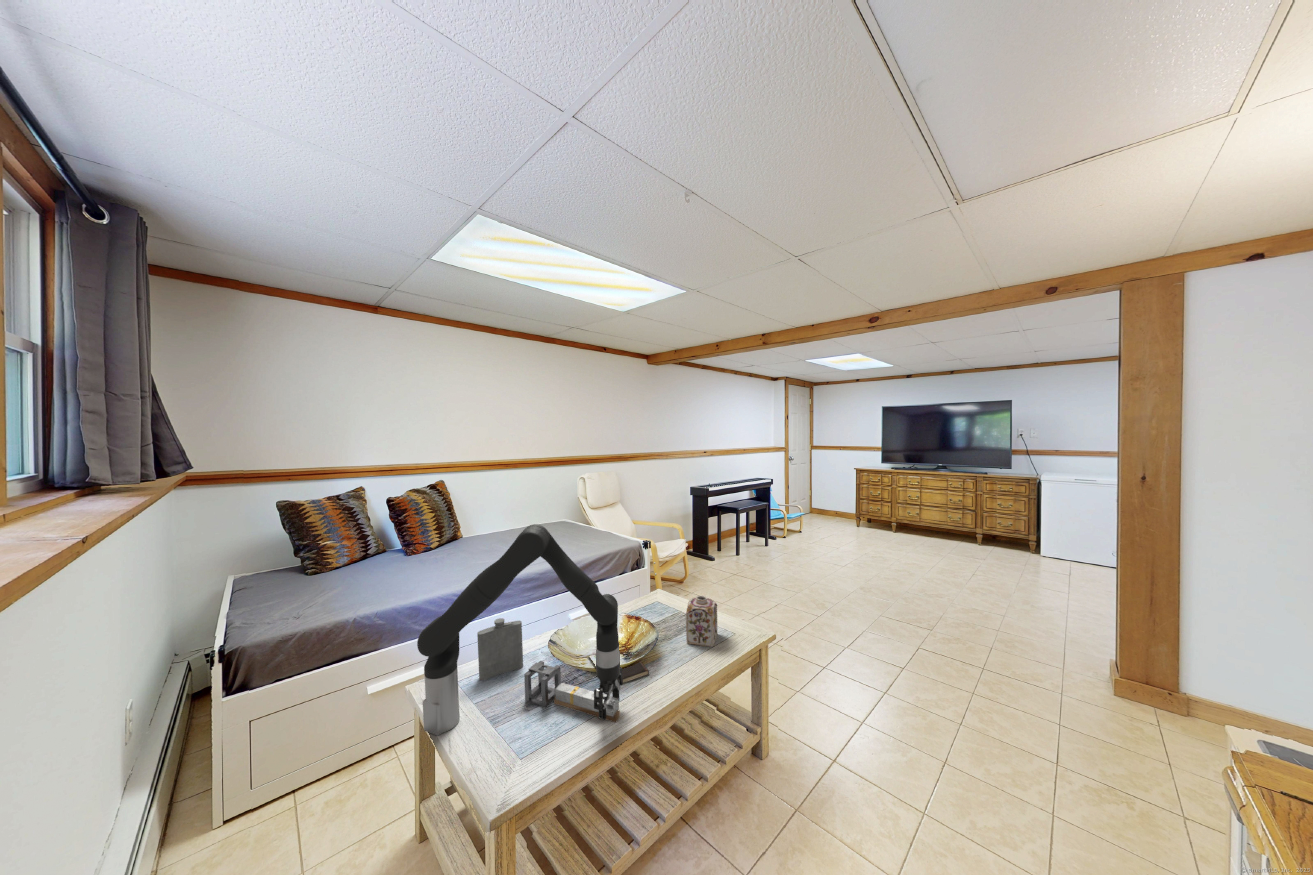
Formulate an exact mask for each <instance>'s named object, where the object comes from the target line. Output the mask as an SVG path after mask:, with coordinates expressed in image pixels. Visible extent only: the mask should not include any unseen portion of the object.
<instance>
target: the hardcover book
mask: <svg viewBox="0 0 1313 875" xmlns="http://www.w3.org/2000/svg"><path fill="white" fill-rule="evenodd" d="M622 674H623V684H624V683H626V682H629V681H632V680H635V679H638V678H641V677H644V676H646V675H649V674H650V670H649V669H648V668H647V667H646V666H645V665H644V664H643V663H642V662H639V663H637V664H635V665H633V666H630V667H627V668H624V669H622ZM618 680H619V681H620V679H619V678H618Z"/></svg>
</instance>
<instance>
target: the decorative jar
mask: <svg viewBox="0 0 1313 875" xmlns="http://www.w3.org/2000/svg"><path fill="white" fill-rule="evenodd" d="M686 606H687V607H686V612H685V622H686V623H685V625H686V626H685V628H686V629H685V633H686V634H685V636H686V637H685V638H686V644H688V645H696V646H703V647H710V648H713V647H714V646H715V642H716V639H717V636H718V604H717V602H715V601H714V600H713V599H711V598H710V597H706V596H705V595H698V596H696V597H694V598H690V599H689V601H688V603H687V605H686Z"/></svg>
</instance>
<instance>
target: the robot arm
mask: <svg viewBox="0 0 1313 875" xmlns="http://www.w3.org/2000/svg"><path fill="white" fill-rule="evenodd" d="M540 557H541V558H542V559H543V560H544V561H545V562H546V563H547V564H548V565H549V566H550V567H551V569H553V571H554V573H555V574H556V575H557V577H558V579H559V581H560V582H561V583H562V585H563V586H564V587H565V589H566V590H567V591H568V592H569V593H571V595H573V596H574V597H575V598H576V599H577V600H578V601H579V602H581V604H582V605H583V607H584V608H585V610H586V611H587V613H589V615H590V616H591V618H592V619H593V620H594V621H595V622H596V624H597V625H596V626H597V627H596V635H595V642H596V644H595V645H596V647H595V648H596V649H595V650H596V667H595V670H596V672H595V673H596V677H597V679H598V681H599V687H598V688H594V689H593V692H594V709H597V710H599V717H598V719H600V720H603V721H605V720H606V704H607V701H608V700H609V698H610V696H611V697H615V698H618V699H619V700H620V690H621V686H623V684H624V683H623V674H622V668H621V667H620V651H619V643H620V642H619V640H620V639H619V630H618V622H619V620H618V618H619V617H618V616H619V604H618V600H617V599H616V597H615V595H612V594H609V593H604V594H602V593H601V591H600V589H599V586H598V584H597V583H596V581H594V580H593V579H592V578H591V577H590V576H589V575H588V574H586V573H585V572H584V571H583V570H582V569H581V568H580V567H579V566H578V565H577V564H576V563H575V562H574V561H573V560H572V559H571V558H570V557H569V556H568V554H567V553H566V552H565V550H563V548H562V547H561V546H560V545H559V544H558V543H557V541H556V539H555V538H554V537H553V536H552V534H551V533H550V531H548V529H547V528H546V527H544V525H541V524H539V523H538V524H537V523H534V524H529V525H528V526H527V527H525V528H524V529H523V530H522V531H521V532H520V533H519V534H518V535H517V537H516V538H515V540H514V541H513V543H512V544H511V545H510V546H509V548H508V549H507V550H506V551H505V552H504V553H503V555H502V556H500V558H499V559H498V560H497V561H495V562H493V563H492V564H491V565H488V567H485V569H484V570H482V572H480V573H479V574H477V576H476V577H474V579H473V580H472V581H470V582H469V584H468V585H467V586H466V587H465V589H463V591H462V592H461V593H460V594H459V595H458V596H457V597H456V599H454V601H453V603H452V604H451V605H449V608H448V609H447V610H446V611H445V612H443V614H441V615H440V616H437V617H436V618H434V619H433V620H432V621H431V622H430V623H429V624H428V625H427V626H426V627H425V628H423V629H422V630H421V632H420V634H419V636H418V638H417V643H416V644H417V645H416V646H417V650H418V652H419V653H420V655H422V656H423V657H426V658H427V660H426V661H425V663H424V668H423V673H424V674H423V675H424V691H425V692H424V695H425V696H424V697H425V699H423V700H422V714H423V715H422V719H423V721H422V722H423V730H424V732H426V733H430V734H431V735H434V736H436V737H437V736H439V735H441V734H443V733H446V732H448V731H450V730H452V729H453V728H455V727H456V726H457V724H459V722H460V699H459V697H460V696H459V680H458V679H459V676H458V673H459V672H458V661H459V660H458V659H459V656H460V632H461V631H462V630H463V629H464V628H465V627H467V626H468V625H469V624H470V623H471V622H473V621H474V620H475V619H476V618H478V617H479V616H480V615H481V614H482V613H484V611H486V610H488V608H489V607H490V606H491V605H492V604H493V603H494V602H495V601H497V599H498V598H500V597H501V596H502V594H503V593H504V592H505V591H506V590H507V589H508V588H509V586H510V585H511V583H512V582H513V581H514V579H515V578H516V577H517V576H518V575H520V573H521V572H522V571H524V570H525V569H526V568H528V567H529V566H530V565H531V564H532V563H534V562H535V561H537V559H539V558H540ZM618 678H619V679H620V681H619V680H618ZM611 693H612V695H611ZM603 694H604V695H607V696H606V697H604V696H603ZM603 699H604V703H603ZM597 702H598V704H597Z"/></svg>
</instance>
